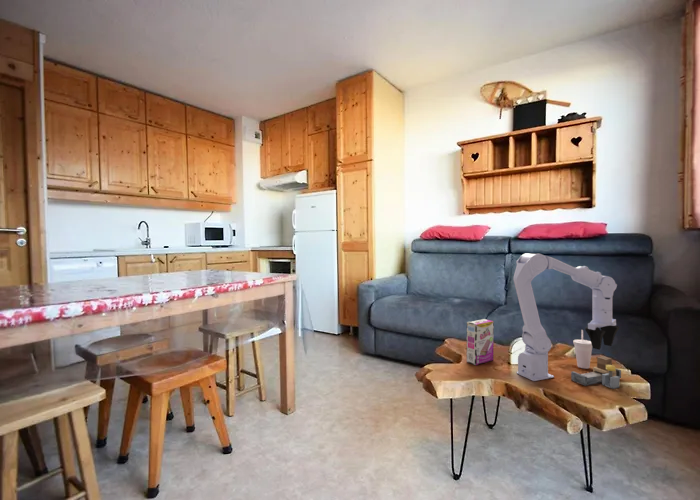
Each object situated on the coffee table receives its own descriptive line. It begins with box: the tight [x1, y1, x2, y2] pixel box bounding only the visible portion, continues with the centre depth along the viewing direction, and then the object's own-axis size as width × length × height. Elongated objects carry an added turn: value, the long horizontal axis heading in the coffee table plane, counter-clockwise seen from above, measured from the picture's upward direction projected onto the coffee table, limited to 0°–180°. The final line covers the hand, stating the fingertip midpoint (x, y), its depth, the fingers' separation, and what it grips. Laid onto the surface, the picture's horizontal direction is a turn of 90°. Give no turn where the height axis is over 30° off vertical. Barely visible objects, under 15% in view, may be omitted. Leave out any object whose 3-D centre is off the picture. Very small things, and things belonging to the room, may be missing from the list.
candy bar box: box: [466, 318, 495, 366], centre depth 138 cm, size 11×5×16 cm, turn 121°
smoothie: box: [573, 329, 593, 370], centre depth 130 cm, size 6×6×14 cm
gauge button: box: [606, 364, 617, 380], centre depth 112 cm, size 3×3×5 cm
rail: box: [570, 368, 622, 387], centre depth 118 cm, size 17×5×3 cm, turn 108°
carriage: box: [592, 355, 616, 377], centre depth 119 cm, size 5×4×6 cm
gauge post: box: [601, 373, 620, 390], centre depth 112 cm, size 3×4×4 cm
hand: (602, 347), depth 121 cm, fingers open, 7 cm apart
